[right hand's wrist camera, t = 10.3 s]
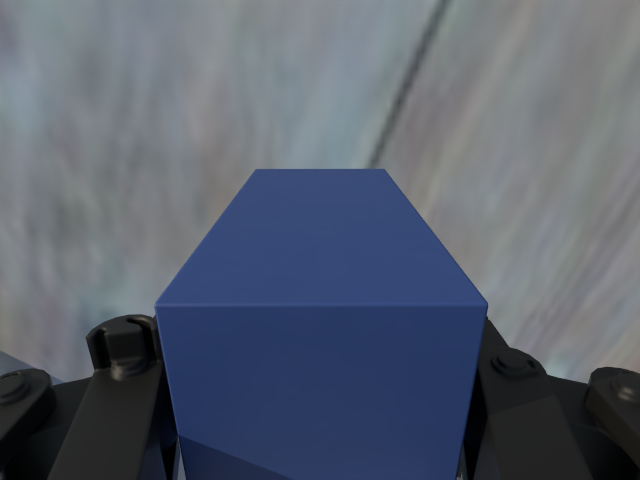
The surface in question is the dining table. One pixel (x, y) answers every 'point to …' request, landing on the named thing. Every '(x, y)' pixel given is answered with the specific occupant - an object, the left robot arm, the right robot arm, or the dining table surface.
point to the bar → (321, 336)
